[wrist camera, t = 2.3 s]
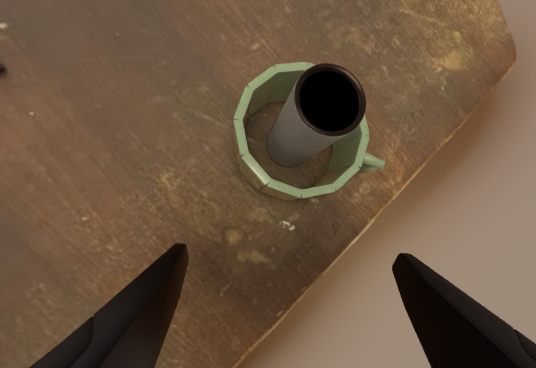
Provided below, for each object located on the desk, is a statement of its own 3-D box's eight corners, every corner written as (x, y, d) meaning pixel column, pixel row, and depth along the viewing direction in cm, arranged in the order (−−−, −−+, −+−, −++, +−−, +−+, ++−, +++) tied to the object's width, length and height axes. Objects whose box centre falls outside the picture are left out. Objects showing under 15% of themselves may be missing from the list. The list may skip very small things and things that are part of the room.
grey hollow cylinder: (284, 116, 23) (325, 47, 13) (316, 144, 23) (381, 98, 13) (257, 147, 22) (278, 99, 12) (291, 176, 23) (338, 152, 13)
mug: (219, 177, 21) (214, 167, 16) (255, 80, 23) (262, 41, 18) (343, 221, 23) (377, 225, 18) (369, 127, 25) (408, 105, 19)
